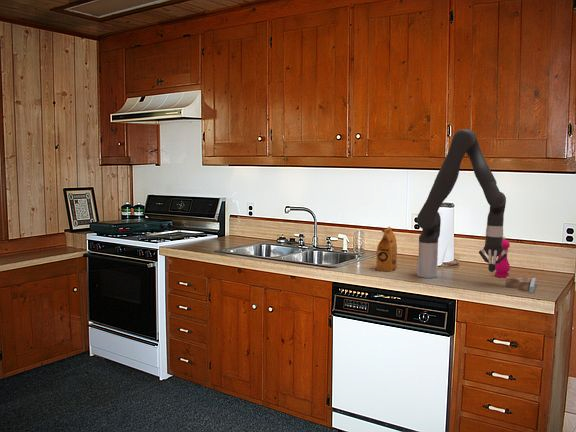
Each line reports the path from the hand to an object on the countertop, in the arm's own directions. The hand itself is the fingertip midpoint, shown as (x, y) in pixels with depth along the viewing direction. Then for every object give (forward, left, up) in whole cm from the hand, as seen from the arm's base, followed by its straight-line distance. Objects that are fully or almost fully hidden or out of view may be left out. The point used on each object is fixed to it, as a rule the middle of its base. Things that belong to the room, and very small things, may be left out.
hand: (491, 271), depth 259 cm
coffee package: (-54, +10, -6) cm, 55 cm away
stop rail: (+18, 0, -6) cm, 19 cm away
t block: (+11, 0, -6) cm, 13 cm away
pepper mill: (+2, +20, -6) cm, 21 cm away
